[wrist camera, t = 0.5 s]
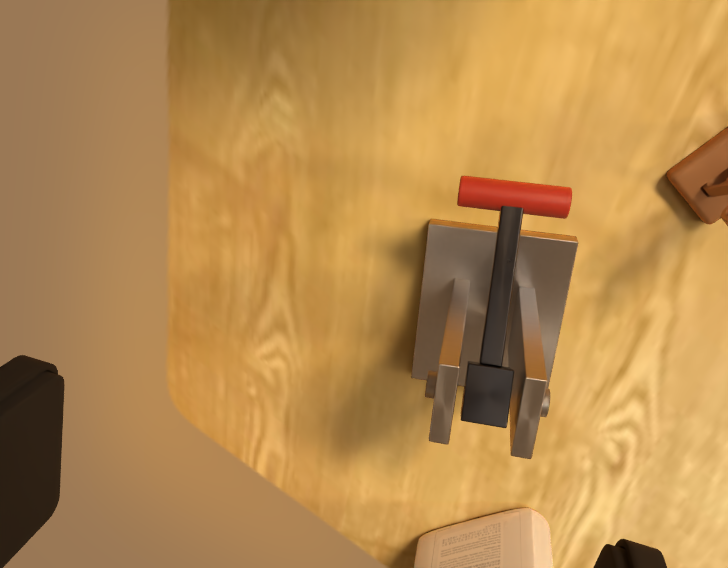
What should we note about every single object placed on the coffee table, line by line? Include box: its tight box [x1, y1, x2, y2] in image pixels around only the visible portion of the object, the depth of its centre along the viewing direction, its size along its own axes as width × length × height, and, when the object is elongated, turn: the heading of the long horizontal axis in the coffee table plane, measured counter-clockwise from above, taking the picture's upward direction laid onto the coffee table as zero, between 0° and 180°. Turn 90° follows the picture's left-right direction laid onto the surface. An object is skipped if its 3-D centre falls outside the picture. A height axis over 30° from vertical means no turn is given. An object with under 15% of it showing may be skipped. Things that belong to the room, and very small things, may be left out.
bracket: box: [412, 219, 578, 459], centre depth 36 cm, size 11×9×13 cm
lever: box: [457, 176, 572, 428], centre depth 32 cm, size 12×6×2 cm, turn 176°
